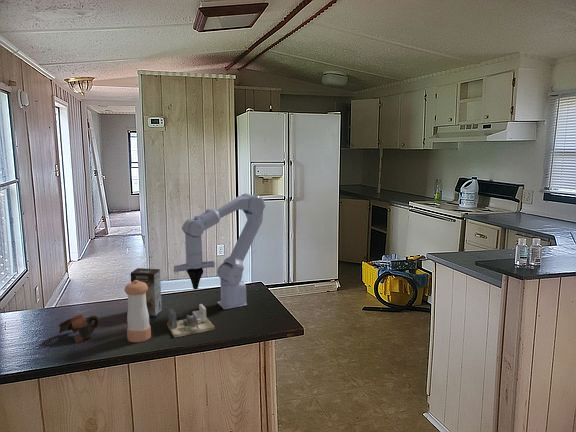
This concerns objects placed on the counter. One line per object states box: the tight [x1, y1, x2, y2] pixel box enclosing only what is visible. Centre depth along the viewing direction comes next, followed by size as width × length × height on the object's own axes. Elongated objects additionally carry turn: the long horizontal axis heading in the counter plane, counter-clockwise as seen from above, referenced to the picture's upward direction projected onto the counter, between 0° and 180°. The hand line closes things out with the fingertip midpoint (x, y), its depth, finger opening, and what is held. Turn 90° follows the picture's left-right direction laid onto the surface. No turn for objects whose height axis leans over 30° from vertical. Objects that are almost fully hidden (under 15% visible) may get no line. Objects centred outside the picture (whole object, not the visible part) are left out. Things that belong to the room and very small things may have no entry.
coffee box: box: [130, 267, 162, 317], centre depth 161 cm, size 9×6×16 cm
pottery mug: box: [58, 313, 100, 344], centre depth 142 cm, size 12×10×8 cm
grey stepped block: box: [185, 303, 207, 324], centre depth 149 cm, size 6×7×5 cm
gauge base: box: [166, 316, 216, 339], centre depth 148 cm, size 14×11×2 cm
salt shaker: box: [124, 280, 152, 343], centre depth 139 cm, size 7×7×19 cm
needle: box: [182, 319, 189, 326], centre depth 144 cm, size 1×4×2 cm, turn 27°
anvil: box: [167, 307, 178, 329], centre depth 147 cm, size 2×6×5 cm, turn 27°
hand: (195, 288), depth 160 cm, fingers closed
